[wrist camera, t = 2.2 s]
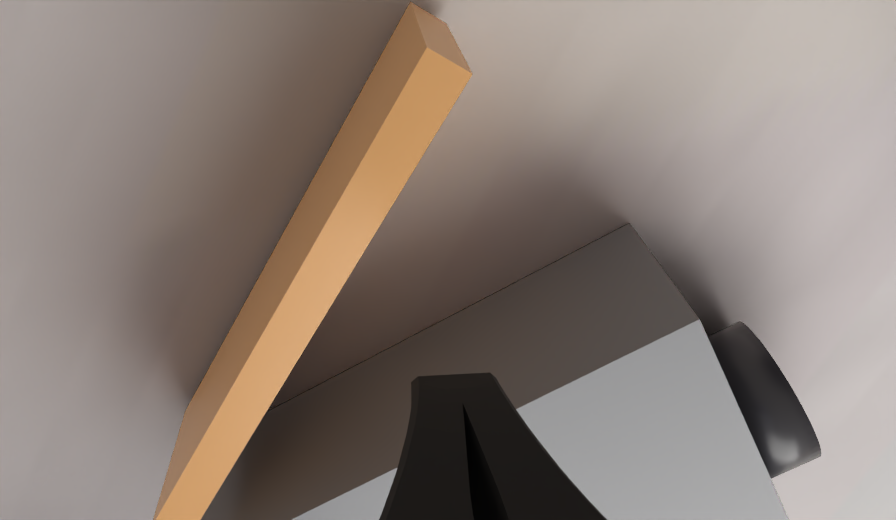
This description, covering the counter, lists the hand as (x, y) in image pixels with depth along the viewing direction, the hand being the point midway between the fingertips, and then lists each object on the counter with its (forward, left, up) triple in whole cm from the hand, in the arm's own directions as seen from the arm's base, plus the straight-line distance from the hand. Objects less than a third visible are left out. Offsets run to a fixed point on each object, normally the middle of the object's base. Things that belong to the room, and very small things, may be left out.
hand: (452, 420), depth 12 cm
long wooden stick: (-3, +1, -9) cm, 9 cm away
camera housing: (-3, -10, -9) cm, 14 cm away
